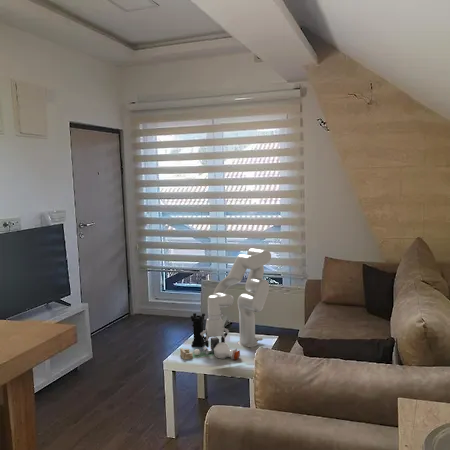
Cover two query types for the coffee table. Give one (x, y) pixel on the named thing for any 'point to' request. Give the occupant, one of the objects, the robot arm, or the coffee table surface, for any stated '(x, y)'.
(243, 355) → the coffee table surface
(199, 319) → the chess piece
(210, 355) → the felt board
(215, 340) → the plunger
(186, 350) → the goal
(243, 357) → the coffee table surface
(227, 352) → the potion bottle
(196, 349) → the ball
